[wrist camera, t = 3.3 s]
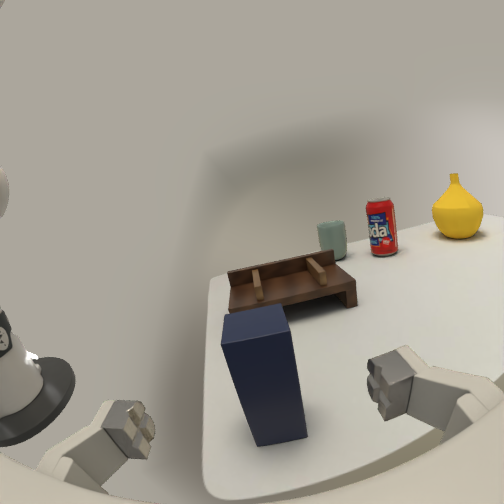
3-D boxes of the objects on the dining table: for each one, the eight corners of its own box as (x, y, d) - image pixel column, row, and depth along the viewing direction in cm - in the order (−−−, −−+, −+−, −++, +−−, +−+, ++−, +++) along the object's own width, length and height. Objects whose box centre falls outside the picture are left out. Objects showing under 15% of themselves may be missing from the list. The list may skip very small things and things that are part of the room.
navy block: (256, 447, 21) (220, 344, 18) (254, 413, 26) (224, 314, 23) (307, 437, 21) (290, 330, 18) (299, 405, 26) (280, 302, 23)
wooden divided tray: (235, 334, 45) (223, 292, 43) (236, 306, 57) (227, 271, 55) (357, 305, 45) (354, 263, 43) (336, 284, 57) (331, 248, 55)
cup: (322, 256, 79) (317, 223, 77) (347, 252, 76) (343, 219, 74) (321, 264, 72) (316, 228, 70) (349, 260, 69) (345, 223, 67)
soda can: (403, 251, 66) (398, 196, 63) (386, 259, 63) (380, 200, 60) (383, 247, 73) (376, 196, 70) (365, 255, 70) (358, 201, 67)
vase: (423, 237, 73) (416, 176, 69) (451, 226, 76) (446, 172, 72) (468, 246, 55) (463, 175, 51) (491, 232, 59) (487, 171, 55)
